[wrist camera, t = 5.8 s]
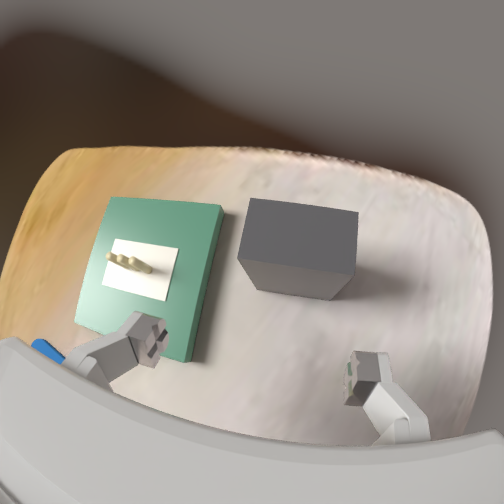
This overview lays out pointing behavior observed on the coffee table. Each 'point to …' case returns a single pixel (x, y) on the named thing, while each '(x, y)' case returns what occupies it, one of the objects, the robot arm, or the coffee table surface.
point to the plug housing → (298, 248)
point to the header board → (151, 267)
